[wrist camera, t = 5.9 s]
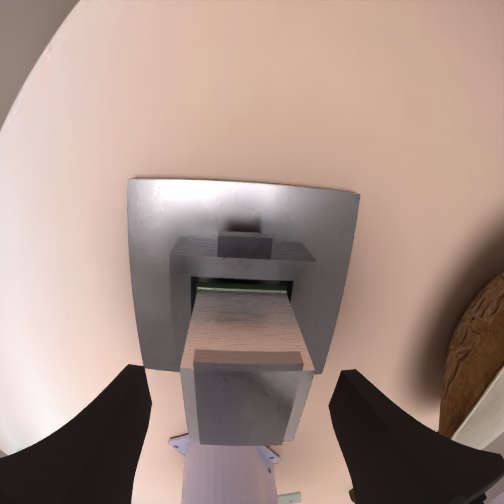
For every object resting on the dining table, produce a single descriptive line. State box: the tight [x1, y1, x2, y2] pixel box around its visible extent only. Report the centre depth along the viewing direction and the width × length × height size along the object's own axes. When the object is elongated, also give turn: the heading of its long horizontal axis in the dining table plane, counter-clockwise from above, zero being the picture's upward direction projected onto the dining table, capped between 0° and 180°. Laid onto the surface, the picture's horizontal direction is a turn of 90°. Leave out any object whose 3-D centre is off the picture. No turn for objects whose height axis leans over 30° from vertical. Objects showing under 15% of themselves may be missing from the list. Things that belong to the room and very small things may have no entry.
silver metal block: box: [180, 282, 315, 446], centre depth 11 cm, size 5×4×6 cm
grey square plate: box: [127, 178, 360, 374], centre depth 16 cm, size 13×13×4 cm
